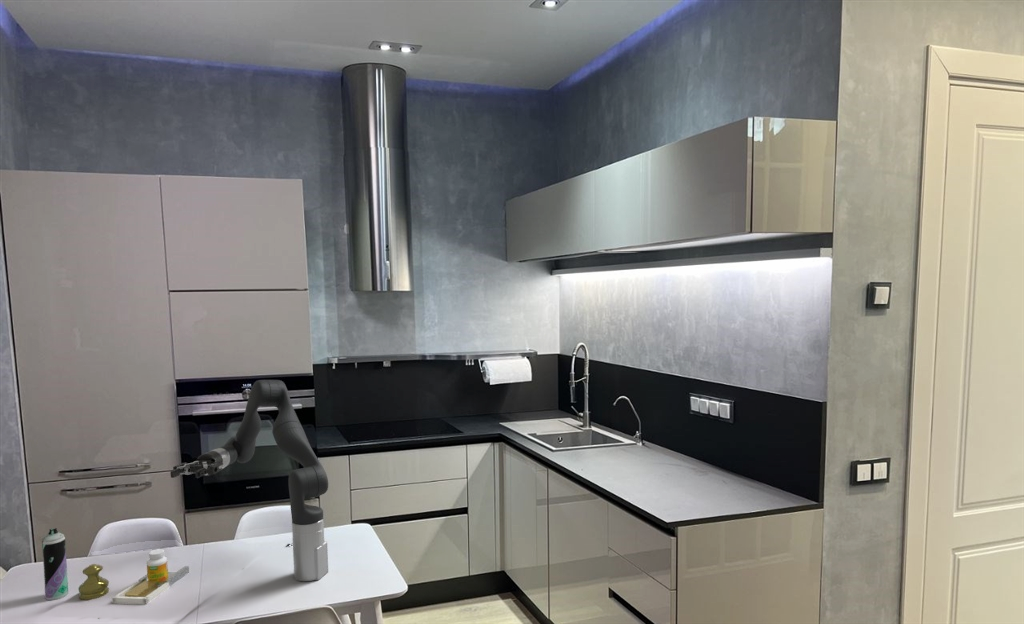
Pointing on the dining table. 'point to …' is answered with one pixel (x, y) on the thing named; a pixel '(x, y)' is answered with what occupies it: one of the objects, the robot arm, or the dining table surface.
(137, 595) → the tan block
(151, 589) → the chip
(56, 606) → the dining table surface
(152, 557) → the supplement bottle
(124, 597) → the tray
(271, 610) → the dining table surface
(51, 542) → the spray can
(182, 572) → the rail
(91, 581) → the gold metal knob shape
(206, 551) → the dining table surface
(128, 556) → the dining table surface
